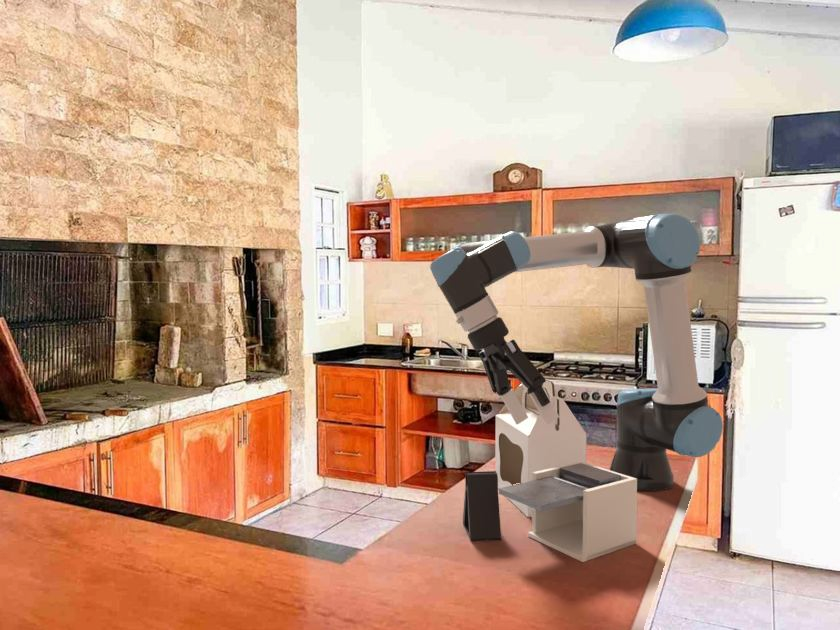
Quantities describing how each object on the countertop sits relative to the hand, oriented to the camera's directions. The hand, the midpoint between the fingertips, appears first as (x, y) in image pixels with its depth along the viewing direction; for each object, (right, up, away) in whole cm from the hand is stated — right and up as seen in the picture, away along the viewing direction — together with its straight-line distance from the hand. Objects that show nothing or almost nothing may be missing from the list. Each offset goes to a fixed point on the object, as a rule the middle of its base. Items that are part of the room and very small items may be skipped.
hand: (537, 421), depth 126 cm
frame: (+8, -23, 0) cm, 24 cm away
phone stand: (-10, -23, +4) cm, 25 cm away
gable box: (+4, -22, +23) cm, 32 cm away
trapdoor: (+4, -14, -4) cm, 15 cm away
